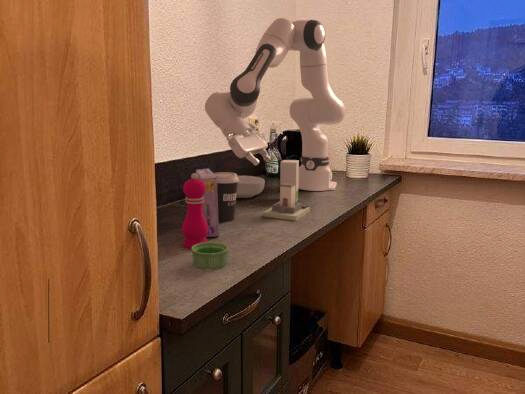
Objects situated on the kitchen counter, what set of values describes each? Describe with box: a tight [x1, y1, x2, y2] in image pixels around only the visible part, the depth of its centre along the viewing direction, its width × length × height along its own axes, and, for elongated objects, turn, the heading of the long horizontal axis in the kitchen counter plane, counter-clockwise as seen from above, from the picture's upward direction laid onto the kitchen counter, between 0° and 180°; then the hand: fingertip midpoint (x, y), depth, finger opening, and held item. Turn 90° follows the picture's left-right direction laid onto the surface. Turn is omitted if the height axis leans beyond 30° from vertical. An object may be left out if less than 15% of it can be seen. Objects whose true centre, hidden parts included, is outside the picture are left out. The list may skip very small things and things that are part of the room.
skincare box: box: [279, 159, 300, 202], centre depth 188 cm, size 8×7×16 cm
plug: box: [279, 183, 295, 207], centre depth 167 cm, size 4×4×9 cm
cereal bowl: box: [236, 175, 266, 199], centre depth 195 cm, size 17×17×7 cm
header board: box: [262, 200, 311, 222], centre depth 168 cm, size 14×12×4 cm
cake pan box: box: [195, 168, 220, 238], centre depth 147 cm, size 19×5×18 cm, turn 13°
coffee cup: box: [213, 171, 239, 222], centre depth 159 cm, size 10×10×15 cm
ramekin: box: [190, 241, 230, 270], centre depth 119 cm, size 9×9×4 cm
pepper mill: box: [181, 172, 208, 249], centre depth 131 cm, size 7×7×20 cm
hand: (263, 162), depth 169 cm, fingers open, 8 cm apart
